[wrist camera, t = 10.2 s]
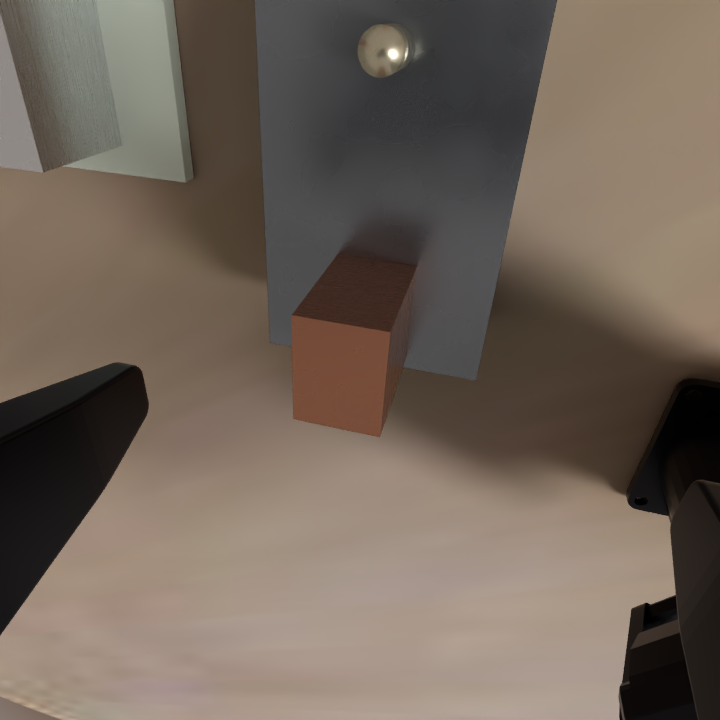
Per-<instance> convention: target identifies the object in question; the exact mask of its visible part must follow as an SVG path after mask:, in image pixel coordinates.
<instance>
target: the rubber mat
mask: <svg viewBox="0 0 720 720" xmlns="http://www.w3.org/2000/svg"><path fill="white" fill-rule="evenodd" d="M96 4H97V10H98V15H99V21H100V26H101V32H102V37H103V43H104V48H105V53H106V59H107V64H108V70H109V75H110V81H111V86H112V92H113V97H114V103H115V108H116V113H117V119H118V124H119V130H120V135H121V141H122V146H121V147H118V148H115V149H112V150H109V151H106V152H103V153H100V154H97V155H94V156H91V157H88V158H85V159H82V160H79V161H76V162H73V163H70V164H67V165H64V167H72V168H79V169H87V170H94V171H102V172H109V173H117V174H125V175H132V176H140V177H147V178H155V179H162V180H170V181H177V182H185V183H186V182H188V181H190V180H192V179H194V175H193V167H192V158H191V149H190V141H189V132H188V123H187V114H186V106H185V97H184V88H183V79H182V71H181V62H180V53H179V44H178V36H177V27H176V18H175V10H174V1H173V0H96Z"/></svg>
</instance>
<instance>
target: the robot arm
mask: <svg viewBox="0 0 720 720" xmlns="http://www.w3.org/2000/svg"><path fill="white" fill-rule="evenodd" d="M691 390H697V391H698V392H697V393H696V394H694V395H686V394H687V393H688V392H689V391H691ZM148 408H149V402H148V397H147V392H146V387H145V383H144V378H143V373H142V371H141V369H140V368H139V367H137V366H135V365H130V364H125V363H119V362H117V363H112V364H109V365H106V366H104V367H101V368H98V369H95V370H92V371H89V372H87V373H84V374H81V375H78V376H75V377H72V378H70V379H67V380H64V381H61V382H58V383H56V384H53V385H50V386H47V387H44V388H41V389H39V390H36V391H33V392H30V393H27V394H24V395H22V396H19V397H16V398H13V399H10V400H8V401H5V402H2V403H0V635H1V634H2V632H3V631H4V630H5V628H6V627H7V625H8V624H9V623H10V621H11V620H12V618H13V617H14V616H15V614H16V613H17V611H18V610H19V609H20V607H21V606H22V604H23V603H24V602H25V600H26V599H27V597H28V596H29V595H30V593H31V592H32V590H33V589H34V588H35V586H36V585H37V583H38V582H39V581H40V579H41V578H42V576H43V575H44V574H45V572H46V571H47V569H48V568H49V567H50V565H51V564H52V562H53V561H54V560H55V558H56V557H57V555H58V554H59V553H60V551H61V550H62V548H63V547H64V546H65V544H66V543H67V541H68V540H69V539H70V537H71V536H72V534H73V533H74V532H75V530H76V529H77V527H78V526H79V525H80V523H81V522H82V520H83V519H84V517H85V516H86V515H87V513H88V512H89V510H90V509H91V508H92V506H93V505H94V503H95V502H96V501H97V499H98V498H99V496H100V495H101V493H102V492H103V490H104V489H105V487H106V486H107V484H108V483H109V481H110V479H111V478H112V476H113V474H114V472H115V471H116V469H117V467H118V465H119V464H120V462H121V460H122V458H123V457H124V455H125V453H126V451H127V450H128V448H129V446H130V444H131V443H132V441H133V439H134V437H135V435H136V434H137V432H138V430H139V428H140V427H141V425H142V423H143V421H144V420H145V418H146V416H147V413H148ZM626 496H627V501H628V504H629V505H630V506H631V507H632V508H635V509H638V510H643V511H647V512H652V513H657V514H661V515H666V516H669V519H670V523H671V527H670V534H671V545H672V556H673V567H674V579H675V590H676V595H674V596H672V597H669V598H666V599H664V600H661V601H659V602H656V603H654V604H651V605H650V604H648V603H644V604H642V605H639V606H637V607H634V608H632V610H631V618H630V626H629V633H628V641H627V649H626V657H625V665H624V673H623V681H622V684H621V685H620V689H619V703H620V714H619V718H620V720H720V382H714V381H708V380H702V379H696V378H689V379H686V380H683V381H681V382H680V383H679V384H678V385H677V386H676V388H675V390H674V392H673V394H672V396H671V399H670V401H669V403H668V405H667V407H666V409H665V411H664V413H663V415H662V418H661V420H660V422H659V424H658V426H657V428H656V430H655V432H654V435H653V437H652V439H651V441H650V443H649V445H648V447H647V449H646V452H645V454H644V456H643V458H642V460H641V462H640V464H639V466H638V469H637V471H636V473H635V475H634V477H633V479H632V481H631V483H630V486H629V488H628V490H627V493H626ZM637 497H644V498H637Z"/></svg>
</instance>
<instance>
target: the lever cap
mask: <svg viewBox="0 0 720 720" xmlns="http://www.w3.org/2000/svg"><path fill="white" fill-rule="evenodd" d="M121 146H122V141H121V135H120V130H119V124H118V119H117V113H116V108H115V103H114V97H113V92H112V86H111V81H110V75H109V70H108V64H107V59H106V53H105V48H104V43H103V37H102V32H101V26H100V21H99V15H98V10H97V4H96V0H0V167H4V168H12V169H19V170H27V171H34V172H42V173H44V172H47V171H50V170H53V169H56V168H58V167H61V166H64V165H67V164H70V163H73V162H76V161H79V160H82V159H85V158H88V157H91V156H94V155H97V154H100V153H103V152H106V151H109V150H112V149H115V148H118V147H121Z"/></svg>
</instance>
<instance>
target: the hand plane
mask: <svg viewBox="0 0 720 720" xmlns="http://www.w3.org/2000/svg"><path fill="white" fill-rule="evenodd" d="M556 3H557V0H255V19H256V41H257V63H258V85H259V108H260V130H261V152H262V174H263V196H264V219H265V241H266V263H267V285H268V307H269V330H270V343H274V344H279V345H285V346H290V347H292V368H293V419H296V420H301V421H305V422H310V423H315V424H320V425H324V426H329V427H334V428H339V429H344V430H348V431H353V432H358V433H363V434H368V435H372V436H377V437H380V436H381V433H382V430H383V427H384V424H385V421H386V418H387V414H388V411H389V408H390V405H391V402H392V399H393V396H394V393H395V390H396V387H397V384H398V381H399V378H400V375H401V372H402V369H403V367H404V368H410V369H415V370H421V371H426V372H432V373H437V374H443V375H448V376H453V377H459V378H464V379H470V380H475V381H476V378H477V373H478V368H479V364H480V359H481V354H482V350H483V345H484V340H485V335H486V331H487V326H488V321H489V317H490V312H491V307H492V303H493V298H494V293H495V289H496V284H497V279H498V275H499V270H500V265H501V261H502V256H503V251H504V246H505V242H506V237H507V232H508V228H509V223H510V218H511V214H512V209H513V204H514V200H515V195H516V190H517V186H518V181H519V176H520V172H521V167H522V162H523V157H524V153H525V148H526V143H527V139H528V134H529V129H530V125H531V120H532V115H533V111H534V106H535V101H536V97H537V92H538V87H539V83H540V78H541V73H542V69H543V64H544V59H545V54H546V50H547V45H548V40H549V36H550V31H551V26H552V22H553V17H554V12H555V8H556Z"/></svg>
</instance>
